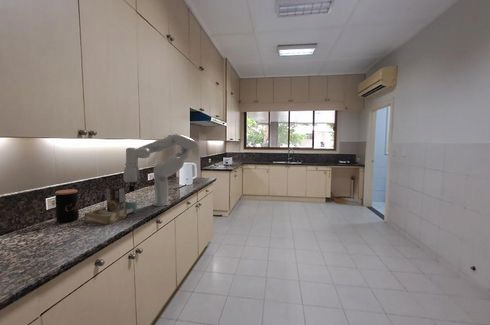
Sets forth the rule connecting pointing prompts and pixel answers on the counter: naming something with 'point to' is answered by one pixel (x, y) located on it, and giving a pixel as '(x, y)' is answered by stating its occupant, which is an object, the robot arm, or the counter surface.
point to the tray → (129, 207)
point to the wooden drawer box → (104, 216)
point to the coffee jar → (66, 206)
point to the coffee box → (116, 199)
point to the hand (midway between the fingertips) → (131, 191)
